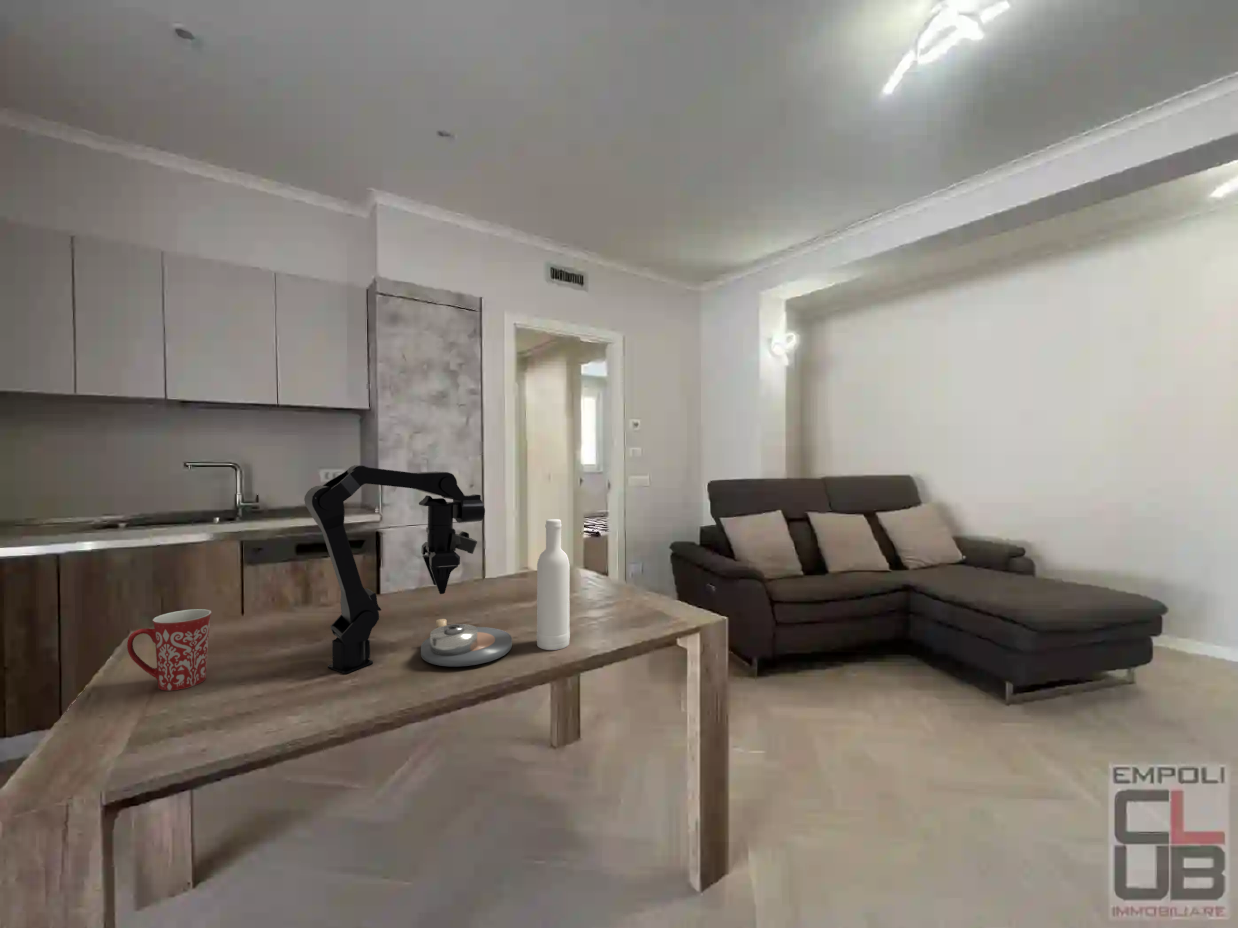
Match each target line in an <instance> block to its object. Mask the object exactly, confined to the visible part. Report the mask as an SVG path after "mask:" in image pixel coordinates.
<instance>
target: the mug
mask: <svg viewBox="0 0 1238 928" xmlns="http://www.w3.org/2000/svg"><path fill="white" fill-rule="evenodd" d="M211 615H212V610H211V609H204V608H202V609H201V608H199V609H197V608H195V609H194V608H193V609H182V610H177V611H172V612H167V613H163V614H160V615H157V616H156V617H154V618H152V623H153V625H154V628H148V627H147V628H145V627H144V628H139V629H137V630H134V631H133V632H132V633H131V634H130V635H129V637H128V639H127V643H126V646H127V647H126V649H127V653H128V655H129V656H130V658H131V660H132V661H133V662H134V663H136V665H138V666H139V667H140V668H141V669H142V670H143V671H144V672H146V673H148V674H149V675H150V676H152V677H153V678H155V679H156V680H157V687H158V689H159V690H161V691H167V692H169V691H177V690H178V691H179V690H184V689H187V688H191V687H195V686H197V685H199V684H201V683H202V682H204V681H205V680H206V679H207V678H206V677H207V664H208V653H209V652H208V651H209V638H210V622H211V621H210V619H211ZM143 634H145V635H148V636H149V637H150V638H151V640H152V642H153V644H155V657H156V667H152V666H151V665H149V664H147V662H145V661H144V660H142V659H141V658H140V656H139V655H138V654H137V653H136V652H135V650H134V644H133V643H134V640H135V638H136V637H137V636H139V635H143Z"/></svg>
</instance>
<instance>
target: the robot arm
mask: <svg viewBox="0 0 1238 928" xmlns="http://www.w3.org/2000/svg"><path fill="white" fill-rule="evenodd" d="M365 484H366V485H375V486H376V485H377V486H384V487H385V486H387V487H396V488H407V489H412V490H417V491H419V492H423V493H425V494H426V493H427V495H425V496H424V498H422V499H421V500H420V501H419V502H418V505H419V506H422V507H427V527H426V528H425V529H426V530H425V531H426V533H427V535H426V537H427V538H426V541H425V542H424V543H423V544H422V545H421V547H420V548H421V552H420V553H421V555H422V558H423V561H424V564H425V566H426V569H427V571H428V574H429V576H430V579H431V582H432V584H433V585H434V586H436V588H437V590H438V593H439V594H440V595H443V594H445V593H446V590H447V587H448V583H449V580H450V575H451V573H452V572H453V571H454V570H455V569H456V568H458V567H459V565H460V564H461V556H460V555H459V554H458V553H457V550H456V549H458V550H461V551H464V552H467V553H468V554H471V555H472V554H474V552H475V549H476V548H477V547H476V546H477V545H478V541H477V540H476V539H474V538H471V537H470V534H469V532H466V531H461V532H459V533H456V532H457V531H456V529H455V528H454V527H453V524H454V520H455V521H456V522H457V523H459V524H460V523H472V522H474V523H475V522H482V521H483V519H484V518H485V512H486V509H485V505H484V503H483V500H482V499H481V498H482V497H481V494H475V493H474V494H470V495H469V494H468V495H465V494H464V492H463V491H462V490H461V489H460V487H459V485H458V481H457V478H456V476H455V475H454V474H453V473H452V472H449V471H447V472H446V471H422V472H407V471H401V470H392V469H383V468H376V467H369V466H366V465H361V464H360V465H359V464H357V465H356V464H355V465H352V466H350V467H349V468H348V469H346V470H345V471H344V472H341V474H338V475H337V476H335V477H334V478H331V479H330V480H329V481H326V483H324V484H322V485H315V486H313V487H311V488H309V489H308V490H307V492H306V494H305V495H304V499H303V501H304V505H305V506H306V509H307V510H308V513H310V515H311V517H312V519H313V520H314V522H315V523H316V524H317V527H318V528H319V529H320V531H321V533H322V537H323V540H324V542H325V545H326V548H327V551H328V554H329V557H330V561H331V564H332V567H333V570H334V574H335V576H336V580H337V582H338V586H339V589H340V603H339V604H340V610H341V614H339V616H338V617H337V619H335V620H334V622H333V623H331V625H330V626H329V628H330V630H331V632H332V634H333V635H334V636H336V638H334V639H333V640H331V641H332V643H331V644H332V647H331V649H332V650H331V651H332V653H331V654H332V656H331V657H332V660H331V661H332V663H330V664H328V665H327V668H328V669H330V670H333V671H336V672H339V673H342V674H346V675H347V674H349V673H352V672H354V671H357V670H359V669H362V668H366V667H367V666H370V665H373V664H374V660H372V659H371V658H370V657H371V640H370V635H371V634H372V633H371V632H372V630H373V628H374V627H375V626H376V625H377V623H378V621H379V620H380V613H379V612H381V611H382V609H381V607H380V606H379V604H378V598H377V594H376V592H374V591H372V590H371V589H369V588H367V587H364V586H363V583H362V580H361V576H360V574H359V570H358V567H357V563H356V560H355V556H354V553H353V551H352V548H351V544H350V541H349V538H348V535H347V532H346V528H345V515H346V514H345V503H344V502H346V501H347V500H348V499H349V498H351V497H352V496H353V495H354V494H355V493H356V492H357V491H358V490H359V489H360V488H361V487H362V486H363V485H365ZM428 494H429V495H428ZM431 495H433V496H440V497H438V498H437V497H436V498H433V497H432V496H431ZM446 499H449V500H452V501H447V500H446Z"/></svg>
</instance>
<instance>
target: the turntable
mask: <svg viewBox="0 0 1238 928" xmlns="http://www.w3.org/2000/svg"><path fill="white" fill-rule="evenodd" d="M447 622H448V621H447V619H446V618H439V619H436V620H435V629H436V628H439V627H442V626H446V625H448V624H447ZM475 627H476V628H477V647H476V648H475V649H474V650H472V651H470V652H468V653H464V654H460V655H453V656H441V655H436V654H433V653H432V652H431V651H430V637H428V638H426V639H425V640H424V641H423V642H422V643H421V644H420V656H421V659H423V660H424V661H425V662H426V663H429V664H432V665H435V666H436V665H437V666H442V667H468V666H475V665H481V664H482V665H483V664H485V663H490V662H492V661H495V660H497V659H500V658H503V656H505V655H506V654H508V653H509V652H510V651H511V649H512V645H513V641H512V639H513V638H512V635H511V634H510V633H509V632H507V631H505V630H502V629H499V628H494V627H486V626H475Z"/></svg>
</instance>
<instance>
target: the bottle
mask: <svg viewBox="0 0 1238 928" xmlns="http://www.w3.org/2000/svg"><path fill="white" fill-rule="evenodd" d="M562 526H563V525H562V520H561V519H559V518H548V519H546V520H545V549H544V550H542V552H541V553H540V554H539V556H538V559H537V564H536V571H537V572H536V577H537V578H536V645H537V647H538V648H539V649H541V650H544V651H545V650H546V651H556V650H557V651H558V650H562V649H565V648H567V647H568V646H570V639H571V638H570V637H571V629H570V607H571V606H570V605H571V604H570V603H571V602H570V601H571V600H570V599H571V598H570V597H571V596H570V589H571V588H570V583H571V582H570V578H571V577H570V576H571V575H570V571H571V570H570V568H571V566H570V560H569V556H568V554H567V553H566V552H565V551H564V550H563V549H562Z"/></svg>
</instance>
